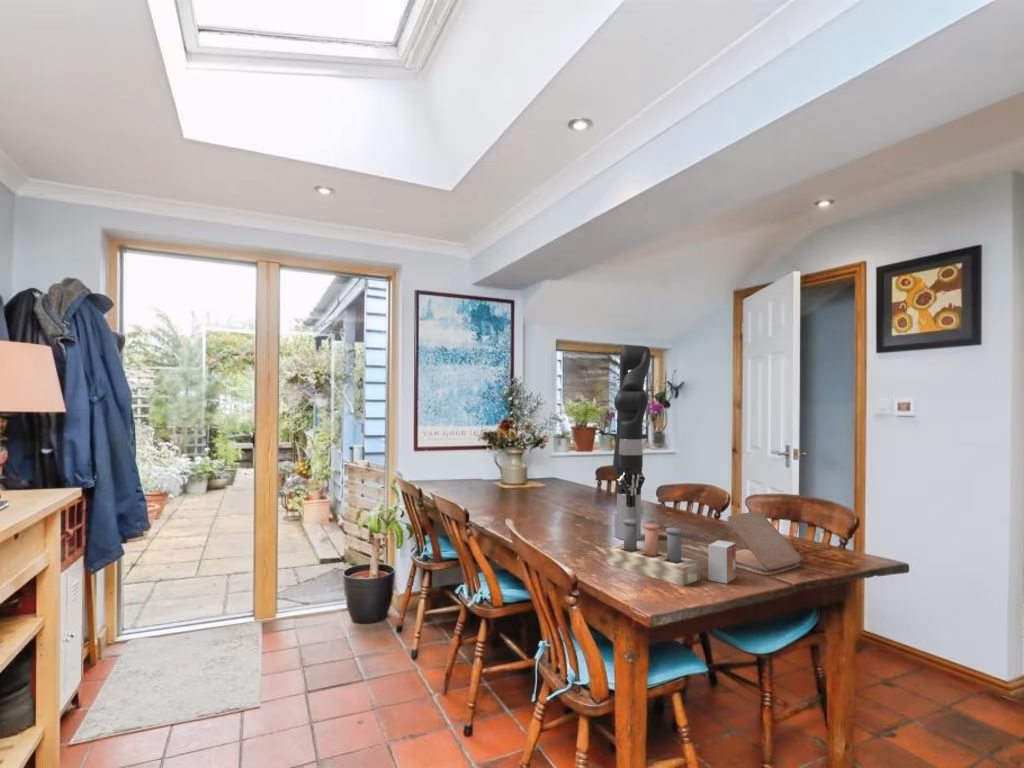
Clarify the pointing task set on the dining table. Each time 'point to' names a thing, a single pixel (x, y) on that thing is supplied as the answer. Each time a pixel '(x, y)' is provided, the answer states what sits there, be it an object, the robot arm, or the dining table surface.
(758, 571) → the case
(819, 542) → the dining table surface
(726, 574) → the small box
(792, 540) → the dining table surface
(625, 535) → the plug left
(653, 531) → the plug mid
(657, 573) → the socket block
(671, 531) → the plug right
